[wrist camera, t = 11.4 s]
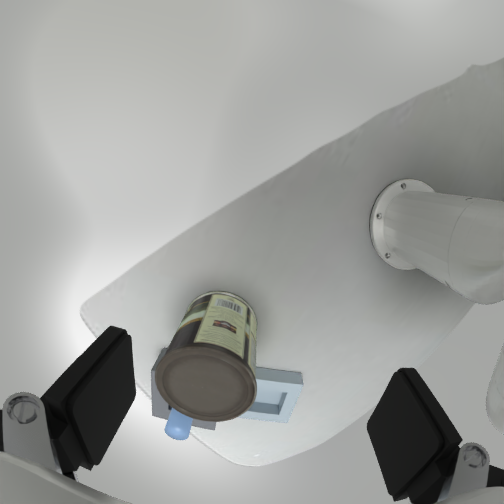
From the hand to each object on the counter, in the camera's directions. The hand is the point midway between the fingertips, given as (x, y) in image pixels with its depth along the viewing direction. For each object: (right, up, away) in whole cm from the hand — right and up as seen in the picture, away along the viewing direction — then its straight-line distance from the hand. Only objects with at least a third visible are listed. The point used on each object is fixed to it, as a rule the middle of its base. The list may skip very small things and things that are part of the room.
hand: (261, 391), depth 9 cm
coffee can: (-5, -5, +30) cm, 31 cm away
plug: (-10, -16, +32) cm, 37 cm away
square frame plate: (+2, -17, +33) cm, 37 cm away
